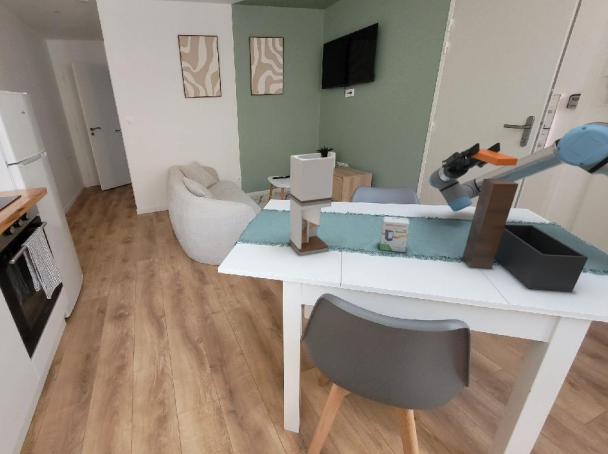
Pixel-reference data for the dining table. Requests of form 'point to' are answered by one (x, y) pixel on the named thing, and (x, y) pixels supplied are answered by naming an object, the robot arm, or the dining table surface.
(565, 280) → the trash bin
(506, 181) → the post
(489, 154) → the orange plank
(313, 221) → the white coffee grinder
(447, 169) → the robot arm
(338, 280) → the dining table surface
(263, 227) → the dining table surface
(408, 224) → the ink box
